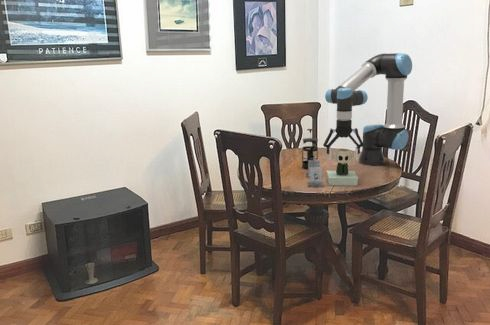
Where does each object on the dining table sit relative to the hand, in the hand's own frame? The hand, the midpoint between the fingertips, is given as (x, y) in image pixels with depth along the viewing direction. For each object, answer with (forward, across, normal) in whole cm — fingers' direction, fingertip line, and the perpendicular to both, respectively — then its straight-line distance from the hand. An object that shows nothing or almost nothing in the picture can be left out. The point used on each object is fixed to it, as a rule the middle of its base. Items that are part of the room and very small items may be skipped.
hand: (342, 159), depth 234 cm
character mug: (+8, 0, 0) cm, 8 cm away
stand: (+12, 0, 0) cm, 12 cm away
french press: (+12, +15, -30) cm, 35 cm away
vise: (+11, +14, -2) cm, 18 cm away
